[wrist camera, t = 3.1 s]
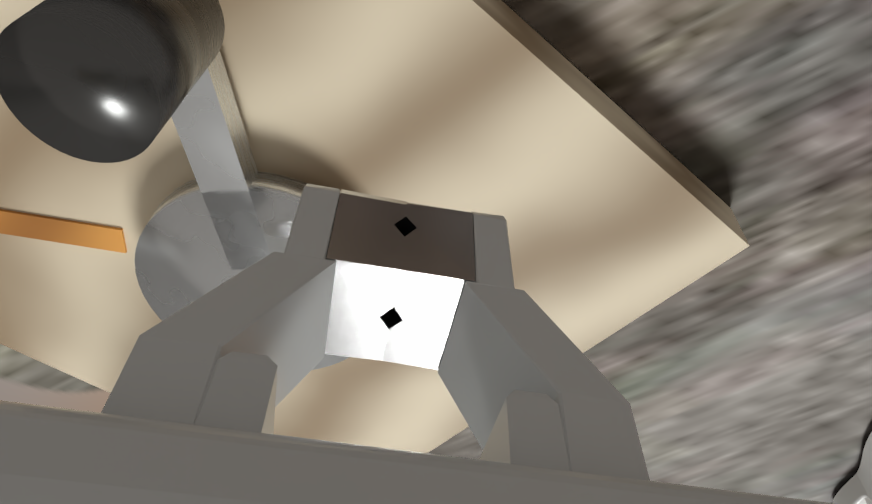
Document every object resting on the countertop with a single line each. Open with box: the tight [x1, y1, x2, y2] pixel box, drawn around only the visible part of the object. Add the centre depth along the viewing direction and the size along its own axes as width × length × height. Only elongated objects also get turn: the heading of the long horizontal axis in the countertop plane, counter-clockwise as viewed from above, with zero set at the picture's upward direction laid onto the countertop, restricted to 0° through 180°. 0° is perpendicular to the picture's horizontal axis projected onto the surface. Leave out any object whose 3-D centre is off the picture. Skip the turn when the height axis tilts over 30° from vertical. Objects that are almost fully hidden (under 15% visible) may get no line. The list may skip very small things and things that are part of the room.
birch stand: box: [0, 0, 749, 453], centre depth 23 cm, size 22×22×2 cm
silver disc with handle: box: [0, 0, 349, 370], centre depth 18 cm, size 14×8×5 cm, turn 5°
